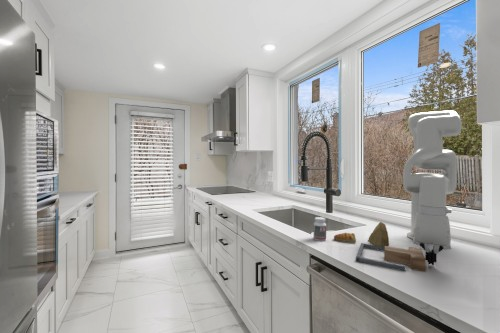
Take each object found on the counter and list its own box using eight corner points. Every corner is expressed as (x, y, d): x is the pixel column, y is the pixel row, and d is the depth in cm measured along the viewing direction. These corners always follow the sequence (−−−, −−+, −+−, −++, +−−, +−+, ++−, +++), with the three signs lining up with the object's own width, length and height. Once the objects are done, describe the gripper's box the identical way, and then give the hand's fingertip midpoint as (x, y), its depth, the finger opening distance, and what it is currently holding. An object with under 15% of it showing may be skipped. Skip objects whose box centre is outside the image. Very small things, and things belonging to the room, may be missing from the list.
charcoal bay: (361, 246, 104) (361, 243, 104) (402, 253, 97) (402, 249, 97) (355, 261, 89) (355, 257, 88) (405, 271, 81) (405, 266, 81)
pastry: (335, 242, 110) (335, 234, 110) (332, 238, 116) (332, 230, 116) (357, 244, 108) (357, 235, 108) (353, 239, 115) (353, 231, 115)
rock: (396, 246, 98) (395, 236, 107) (382, 228, 100) (382, 220, 108) (372, 257, 103) (373, 247, 112) (359, 240, 105) (360, 231, 113)
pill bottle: (328, 240, 112) (329, 219, 112) (317, 241, 110) (318, 220, 110) (321, 237, 117) (321, 216, 117) (311, 237, 116) (311, 217, 115)
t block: (384, 253, 97) (384, 243, 97) (421, 259, 91) (421, 248, 91) (384, 264, 86) (384, 252, 86) (425, 271, 81) (425, 259, 80)
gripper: (457, 211, 84) (455, 264, 84) (405, 207, 91) (404, 255, 92) (462, 215, 77) (461, 272, 78) (407, 210, 85) (406, 262, 85)
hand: (430, 263), depth 85 cm, fingers closed
